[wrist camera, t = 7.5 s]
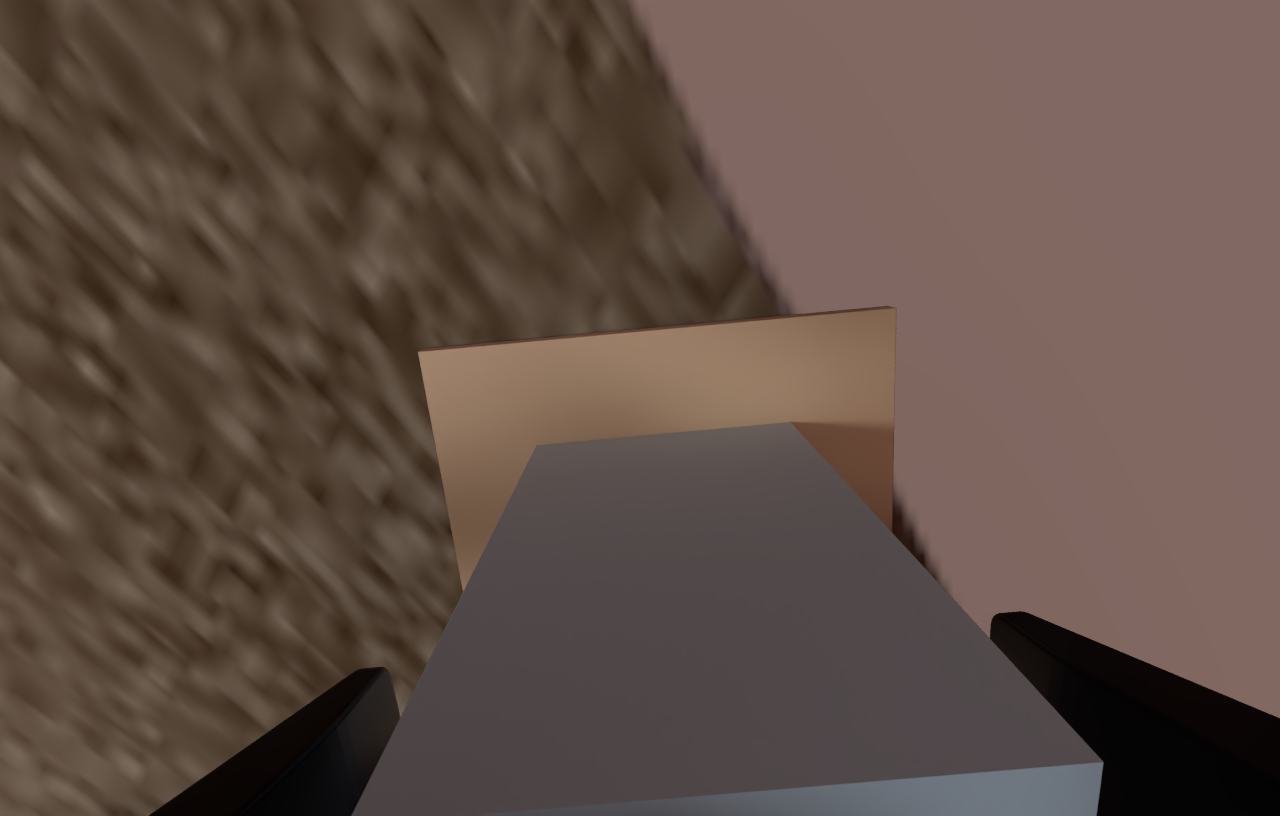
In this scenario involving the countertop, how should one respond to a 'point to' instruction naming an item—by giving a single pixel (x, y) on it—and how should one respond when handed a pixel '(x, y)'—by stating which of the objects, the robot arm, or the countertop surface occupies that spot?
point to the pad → (661, 400)
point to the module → (716, 656)
